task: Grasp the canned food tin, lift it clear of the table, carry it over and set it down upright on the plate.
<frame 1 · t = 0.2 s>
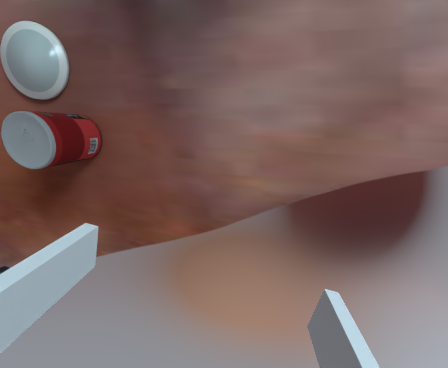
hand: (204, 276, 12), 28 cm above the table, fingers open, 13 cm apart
canned food: (85, 137, 40), on the table
plate: (37, 63, 37), on the table
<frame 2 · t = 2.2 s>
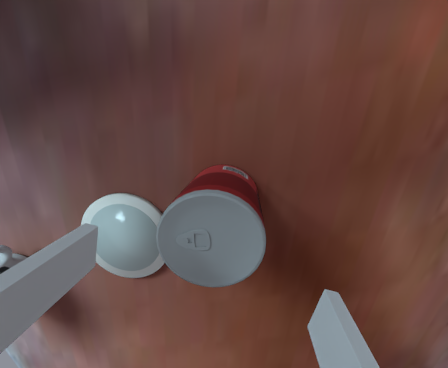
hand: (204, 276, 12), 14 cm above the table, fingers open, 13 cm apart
cup: (25, 261, 31), on the table
canned food: (224, 193, 26), on the table
plate: (128, 235, 28), on the table
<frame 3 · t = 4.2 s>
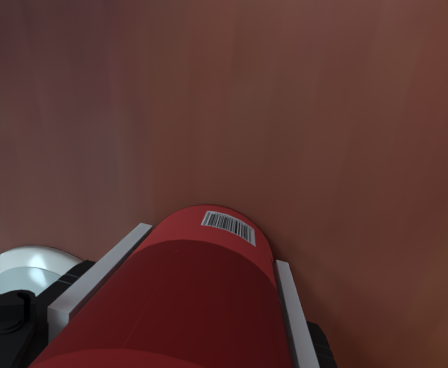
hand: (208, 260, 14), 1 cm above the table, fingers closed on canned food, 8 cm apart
canned food: (211, 252, 14), on the table, touching gripper
plate: (54, 311, 17), on the table
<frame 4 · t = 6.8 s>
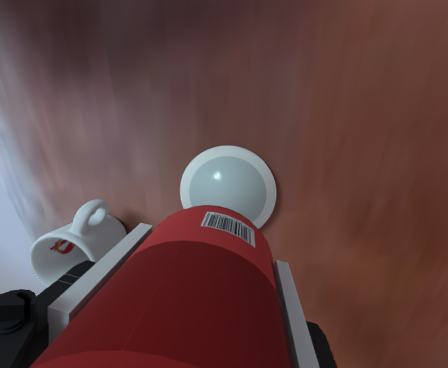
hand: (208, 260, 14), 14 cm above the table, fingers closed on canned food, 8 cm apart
cup: (111, 223, 30), on the table
canned food: (211, 252, 14), point 13 cm above the table, touching gripper
plate: (227, 192, 27), on the table
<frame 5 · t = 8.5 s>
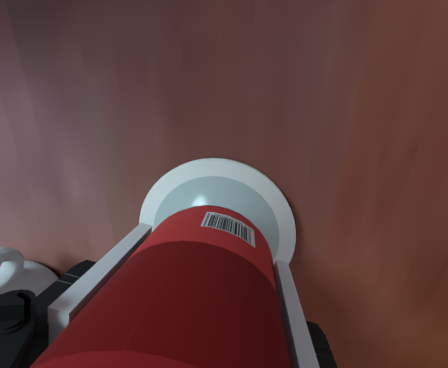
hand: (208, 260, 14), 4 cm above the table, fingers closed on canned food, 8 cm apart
cup: (42, 272, 20), on the table
canned food: (211, 252, 14), point 3 cm above the table, touching gripper
plate: (216, 232, 17), on the table
when the fingers open (3 cm above the table, at t = 9.6 s): canned food stays where it is, resting on plate.
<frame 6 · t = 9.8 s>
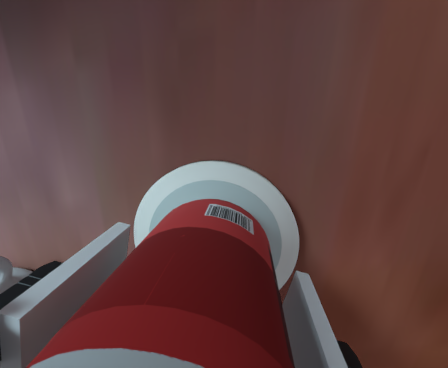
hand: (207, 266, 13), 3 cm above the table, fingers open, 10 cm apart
cup: (34, 279, 19), on the table
canned food: (212, 243, 15), point 1 cm above the table, touching plate
plate: (215, 238, 16), on the table
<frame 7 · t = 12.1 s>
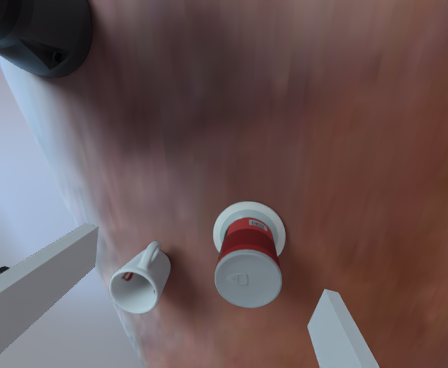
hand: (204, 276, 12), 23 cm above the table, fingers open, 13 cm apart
cup: (158, 255, 40), on the table
canned food: (248, 236, 36), point 1 cm above the table, touching plate
plate: (248, 234, 36), on the table
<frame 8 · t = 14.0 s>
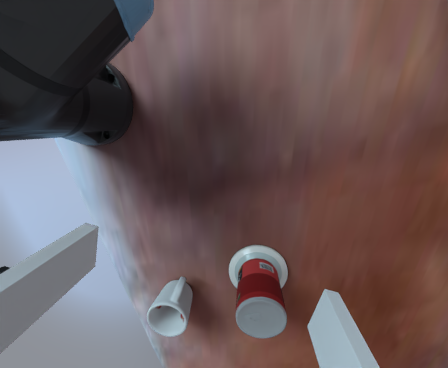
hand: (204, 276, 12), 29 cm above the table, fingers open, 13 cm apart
cup: (181, 284, 48), on the table
canned food: (257, 272, 44), point 1 cm above the table, touching plate
plate: (257, 270, 45), on the table
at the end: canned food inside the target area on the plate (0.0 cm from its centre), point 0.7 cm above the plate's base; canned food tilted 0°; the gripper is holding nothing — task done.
